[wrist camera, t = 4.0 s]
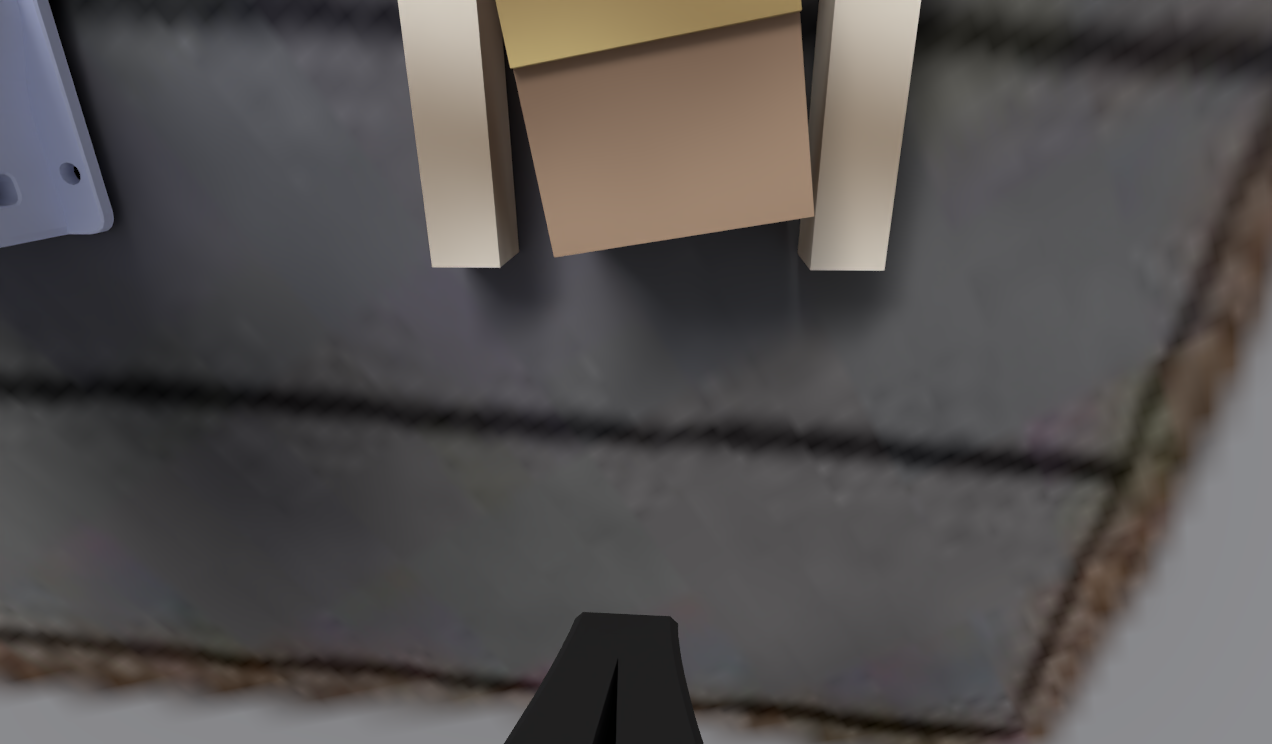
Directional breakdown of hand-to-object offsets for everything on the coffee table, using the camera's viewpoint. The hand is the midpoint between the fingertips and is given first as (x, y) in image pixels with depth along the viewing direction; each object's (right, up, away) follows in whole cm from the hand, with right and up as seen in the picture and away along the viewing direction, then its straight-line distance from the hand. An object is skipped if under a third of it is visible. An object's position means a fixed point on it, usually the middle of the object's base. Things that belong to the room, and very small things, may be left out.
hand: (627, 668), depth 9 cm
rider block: (+1, +12, +5) cm, 13 cm away
